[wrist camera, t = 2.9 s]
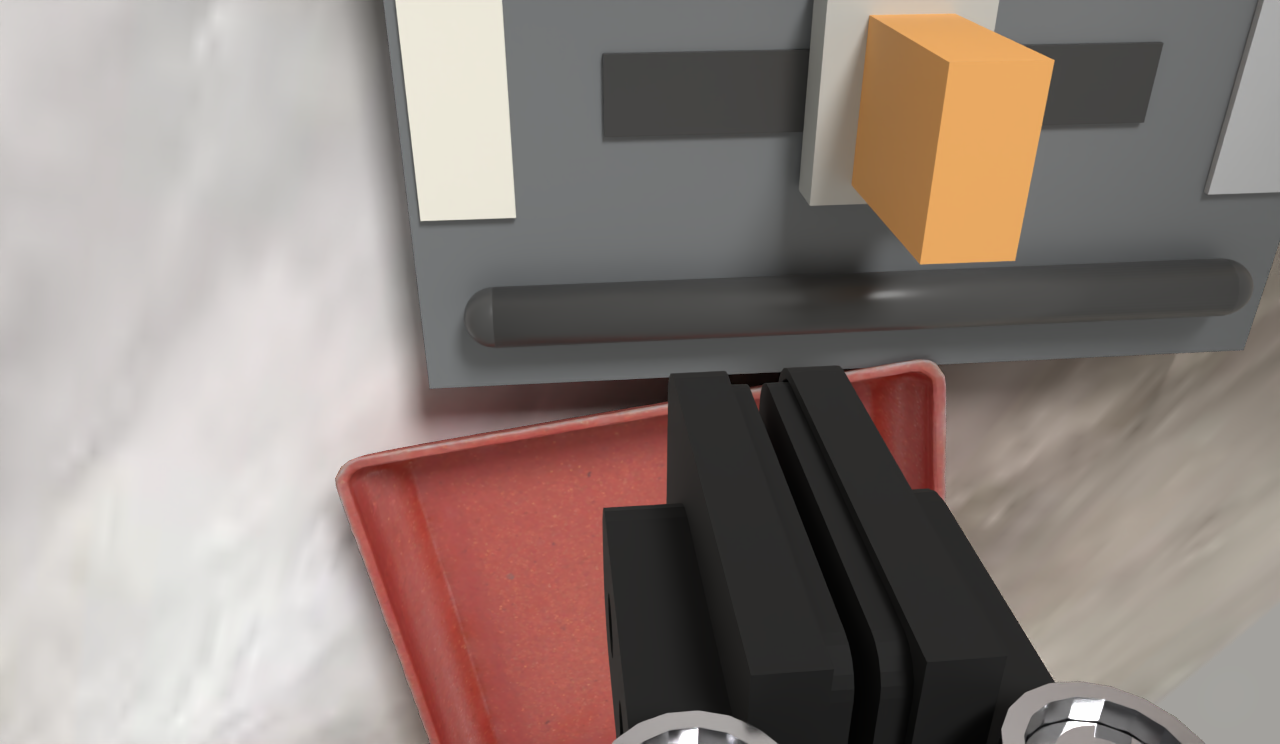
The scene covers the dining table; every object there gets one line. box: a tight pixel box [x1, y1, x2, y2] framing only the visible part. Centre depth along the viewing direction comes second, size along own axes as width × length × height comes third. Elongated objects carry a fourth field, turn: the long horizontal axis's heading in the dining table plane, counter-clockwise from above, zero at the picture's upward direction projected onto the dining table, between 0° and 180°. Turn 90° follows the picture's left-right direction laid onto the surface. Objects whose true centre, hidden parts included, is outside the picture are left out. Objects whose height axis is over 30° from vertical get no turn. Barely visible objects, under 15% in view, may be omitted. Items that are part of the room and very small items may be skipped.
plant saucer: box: [335, 359, 946, 744], centre depth 34 cm, size 18×18×3 cm
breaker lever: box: [799, 0, 1055, 264], centre depth 22 cm, size 4×5×6 cm
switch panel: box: [383, 0, 1280, 389], centre depth 25 cm, size 24×16×4 cm, turn 90°
